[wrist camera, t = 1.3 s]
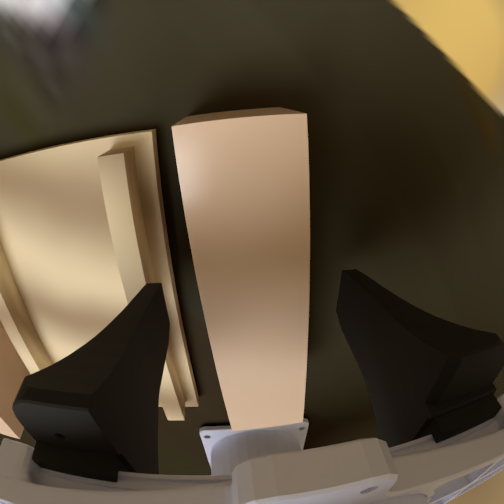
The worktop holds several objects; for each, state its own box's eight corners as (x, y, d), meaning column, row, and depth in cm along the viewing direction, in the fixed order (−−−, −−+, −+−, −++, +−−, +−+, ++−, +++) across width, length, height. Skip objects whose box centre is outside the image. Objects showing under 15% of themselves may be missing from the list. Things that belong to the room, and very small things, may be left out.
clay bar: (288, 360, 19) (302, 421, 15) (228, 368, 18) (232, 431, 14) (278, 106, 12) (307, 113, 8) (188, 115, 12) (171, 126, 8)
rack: (198, 396, 19) (198, 424, 17) (-14, 378, 18) (-23, 397, 16) (155, 128, 12) (143, 135, 10) (-95, 194, 10) (-116, 207, 8)
